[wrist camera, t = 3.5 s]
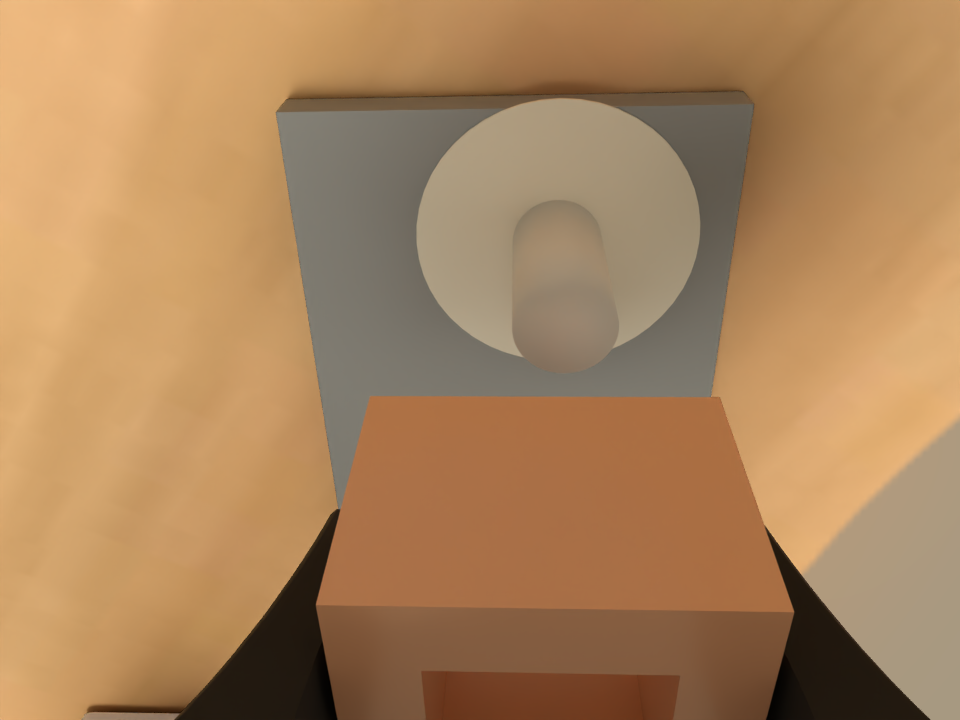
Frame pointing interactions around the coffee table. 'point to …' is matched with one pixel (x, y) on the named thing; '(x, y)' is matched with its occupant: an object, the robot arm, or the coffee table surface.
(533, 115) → the post board
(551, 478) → the tan square tube block
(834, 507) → the coffee table surface
